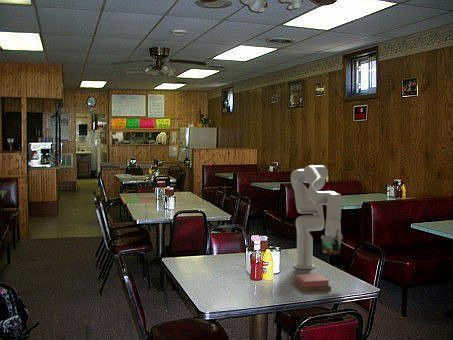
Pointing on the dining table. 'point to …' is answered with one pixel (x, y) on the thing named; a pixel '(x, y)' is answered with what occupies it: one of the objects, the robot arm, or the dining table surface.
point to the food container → (329, 245)
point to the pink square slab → (312, 280)
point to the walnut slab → (312, 289)
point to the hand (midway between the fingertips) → (332, 249)
